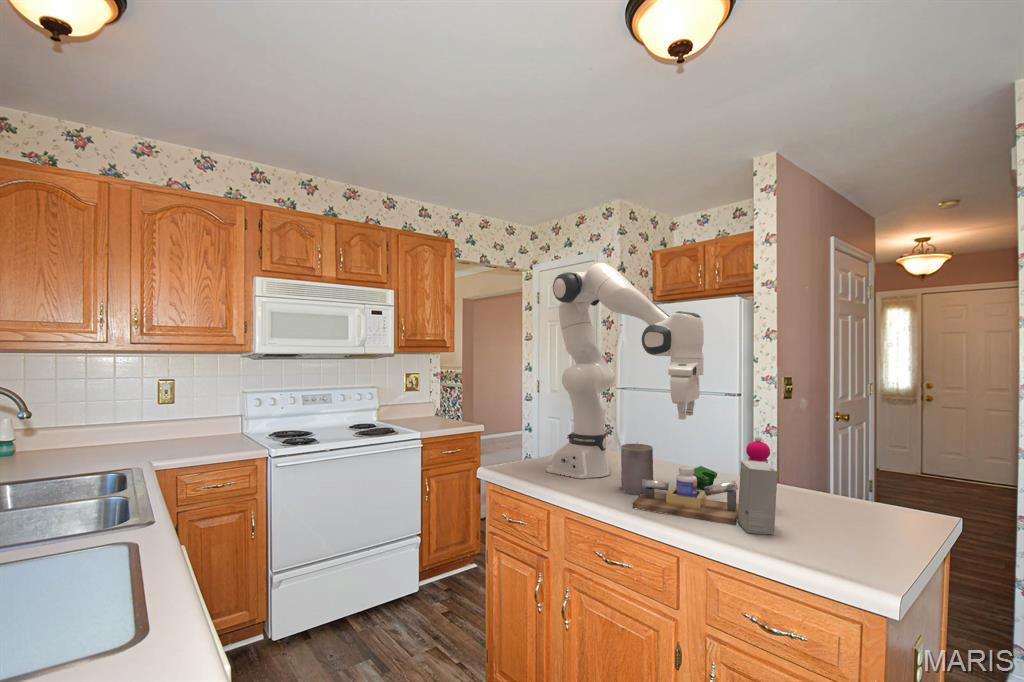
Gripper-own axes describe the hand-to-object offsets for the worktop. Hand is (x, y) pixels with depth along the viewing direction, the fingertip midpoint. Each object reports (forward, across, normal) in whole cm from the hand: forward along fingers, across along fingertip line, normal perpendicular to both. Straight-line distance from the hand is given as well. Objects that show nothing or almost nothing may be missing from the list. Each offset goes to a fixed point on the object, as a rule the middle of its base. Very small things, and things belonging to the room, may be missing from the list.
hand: (686, 417), depth 141 cm
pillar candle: (+25, -7, -16) cm, 31 cm away
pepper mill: (+25, -7, +18) cm, 31 cm away
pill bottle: (+23, +4, +1) cm, 24 cm away
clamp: (+25, -20, +1) cm, 32 cm away
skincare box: (+25, +11, +19) cm, 33 cm away
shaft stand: (+25, +4, +1) cm, 25 cm away
